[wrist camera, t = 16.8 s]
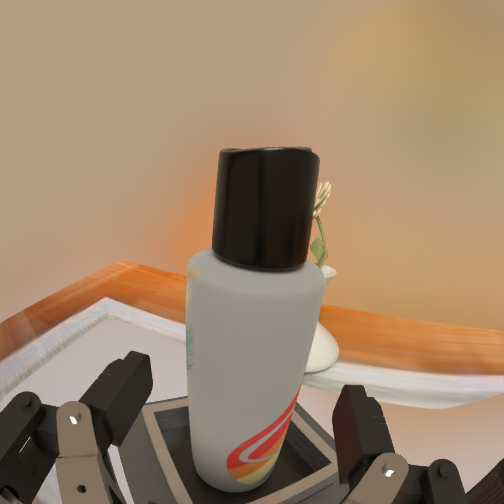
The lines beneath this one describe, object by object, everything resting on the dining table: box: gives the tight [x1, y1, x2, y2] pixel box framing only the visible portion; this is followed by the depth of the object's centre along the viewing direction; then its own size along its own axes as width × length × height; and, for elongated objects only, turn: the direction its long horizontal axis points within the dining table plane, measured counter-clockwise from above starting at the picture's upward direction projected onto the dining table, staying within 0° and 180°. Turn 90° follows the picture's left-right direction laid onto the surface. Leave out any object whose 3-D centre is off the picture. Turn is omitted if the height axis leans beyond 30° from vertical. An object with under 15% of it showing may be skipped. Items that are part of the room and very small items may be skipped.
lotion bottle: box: [186, 147, 325, 492], centre depth 13 cm, size 6×6×20 cm
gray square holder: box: [118, 396, 349, 504], centre depth 16 cm, size 16×16×9 cm
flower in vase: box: [305, 181, 339, 373], centre depth 35 cm, size 13×11×25 cm
